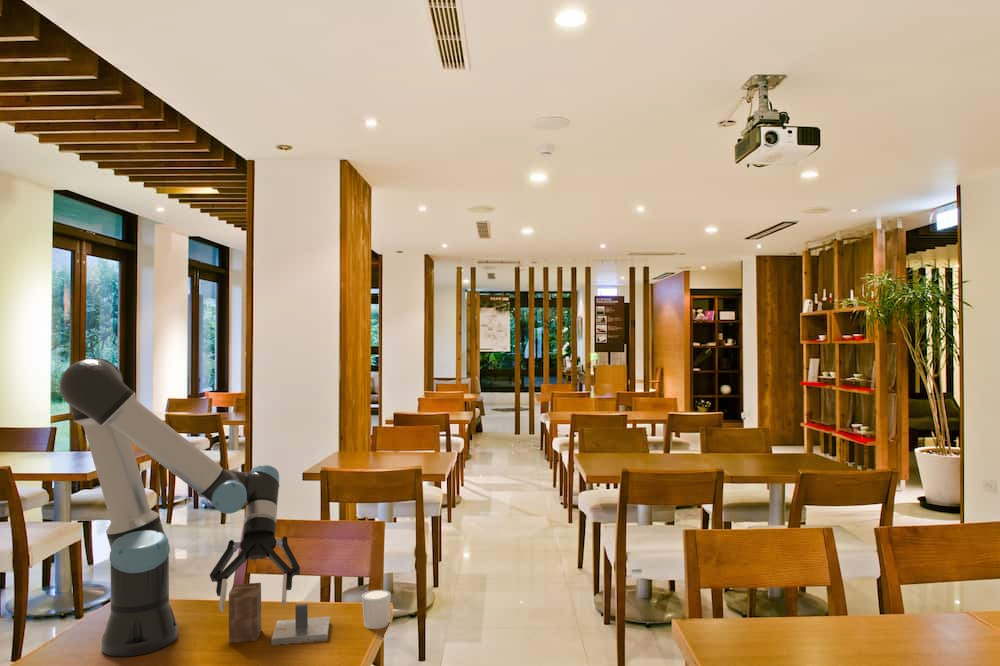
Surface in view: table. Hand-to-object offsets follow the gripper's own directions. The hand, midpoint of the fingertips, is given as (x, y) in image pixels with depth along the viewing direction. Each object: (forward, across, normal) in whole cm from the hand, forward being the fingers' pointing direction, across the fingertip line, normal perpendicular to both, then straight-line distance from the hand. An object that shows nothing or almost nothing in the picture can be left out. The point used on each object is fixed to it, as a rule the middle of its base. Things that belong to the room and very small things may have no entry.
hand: (252, 606), depth 158 cm
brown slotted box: (+5, +2, -4) cm, 7 cm away
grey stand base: (+6, -11, -3) cm, 13 cm away
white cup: (+6, -28, -4) cm, 29 cm away
